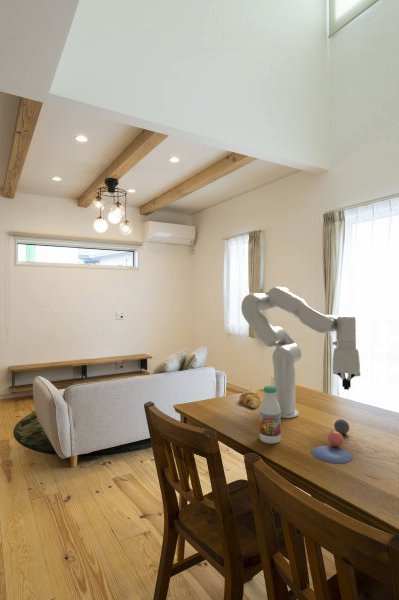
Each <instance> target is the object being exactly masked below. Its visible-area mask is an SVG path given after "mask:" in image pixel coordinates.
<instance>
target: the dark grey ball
mask: <svg viewBox="0 0 399 600" xmlns="http://www.w3.org/2000/svg"><path fill="white" fill-rule="evenodd" d="M333 427H334V431H337V432H339V433H341V434H342V435H346V434H348V432H350V425H349V423H348V422H347V421H346V420H345V419H341V418H340V419H337V420H336V421H335V422H334V425H333Z"/></svg>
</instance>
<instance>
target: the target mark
mask: <svg viewBox="0 0 399 600" xmlns="http://www.w3.org/2000/svg"><path fill="white" fill-rule="evenodd" d="M311 454H312V456H313V457H315V458H316V459H317V460H320V461H322V462H325V463H329V464H334V465H335V464H337V465H339V464H341V465H342V464H343V465H344V464H347V463H350V462H352V460H353V455H352V453H350V452H349V451H347V450H346V449H343V448H340V447H333V446H331V445H320V446H315V447H313V448H312V449H311Z"/></svg>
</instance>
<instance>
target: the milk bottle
mask: <svg viewBox="0 0 399 600" xmlns="http://www.w3.org/2000/svg"><path fill="white" fill-rule="evenodd" d="M263 393H264V397H263V399H262V402H260V403H261V404H260V409H259V440H260V441H261V442H262V443H265V444H270V445H271V444H272V445H273V444H278V443H280V442H281V429H282V428H281V426H282V425H281V423H282V421H281V418H282V417H281V413H280V406H279V403H278V401H277V398H276V387H274V385H273V386H272V385H266V386H264V388H263Z"/></svg>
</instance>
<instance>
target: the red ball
mask: <svg viewBox="0 0 399 600" xmlns="http://www.w3.org/2000/svg"><path fill="white" fill-rule="evenodd" d="M326 439H327V442H328V444H329V446H332V447H337V448H340V447H342V445H343V444H344V440H345V439H344V437H343V434H341V433H339V432H337V431H336V430H332V431H330V432H328V433H327V437H326Z"/></svg>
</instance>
